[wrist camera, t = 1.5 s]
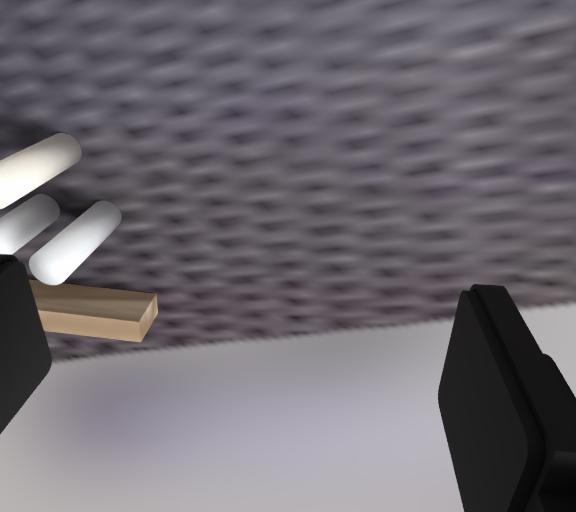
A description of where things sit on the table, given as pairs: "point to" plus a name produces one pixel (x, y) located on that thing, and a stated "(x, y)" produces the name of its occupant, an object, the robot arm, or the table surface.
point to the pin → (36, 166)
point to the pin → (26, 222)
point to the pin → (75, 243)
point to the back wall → (94, 310)
